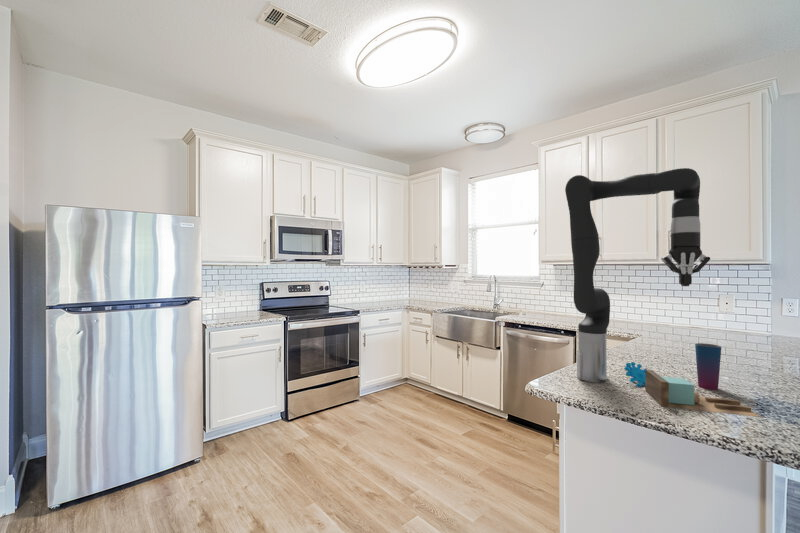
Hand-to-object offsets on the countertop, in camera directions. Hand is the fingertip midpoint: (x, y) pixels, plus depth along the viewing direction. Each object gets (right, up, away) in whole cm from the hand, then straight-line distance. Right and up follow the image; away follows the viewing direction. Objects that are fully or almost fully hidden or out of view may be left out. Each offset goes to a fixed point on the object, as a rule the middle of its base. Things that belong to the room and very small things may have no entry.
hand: (685, 286), depth 117 cm
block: (-9, -34, -7) cm, 36 cm away
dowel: (-7, -34, -8) cm, 36 cm away
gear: (-8, -35, +10) cm, 38 cm away
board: (-3, -35, -9) cm, 36 cm away
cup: (+12, -35, +6) cm, 38 cm away
